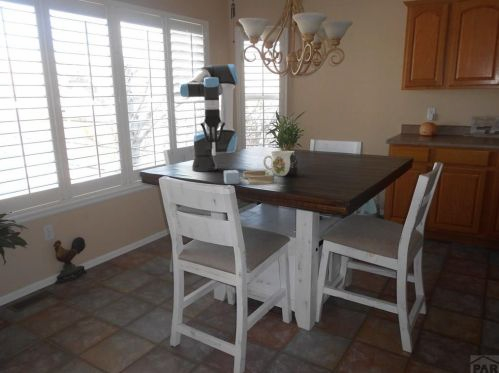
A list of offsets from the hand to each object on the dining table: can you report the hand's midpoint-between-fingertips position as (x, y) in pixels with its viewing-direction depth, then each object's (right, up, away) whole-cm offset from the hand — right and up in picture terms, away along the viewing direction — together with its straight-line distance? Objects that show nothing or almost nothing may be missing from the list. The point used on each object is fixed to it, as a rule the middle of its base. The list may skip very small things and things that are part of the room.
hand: (213, 155), depth 206 cm
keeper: (+9, -14, +6) cm, 18 cm away
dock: (+23, -13, +9) cm, 28 cm away
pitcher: (+36, -10, +24) cm, 44 cm away
